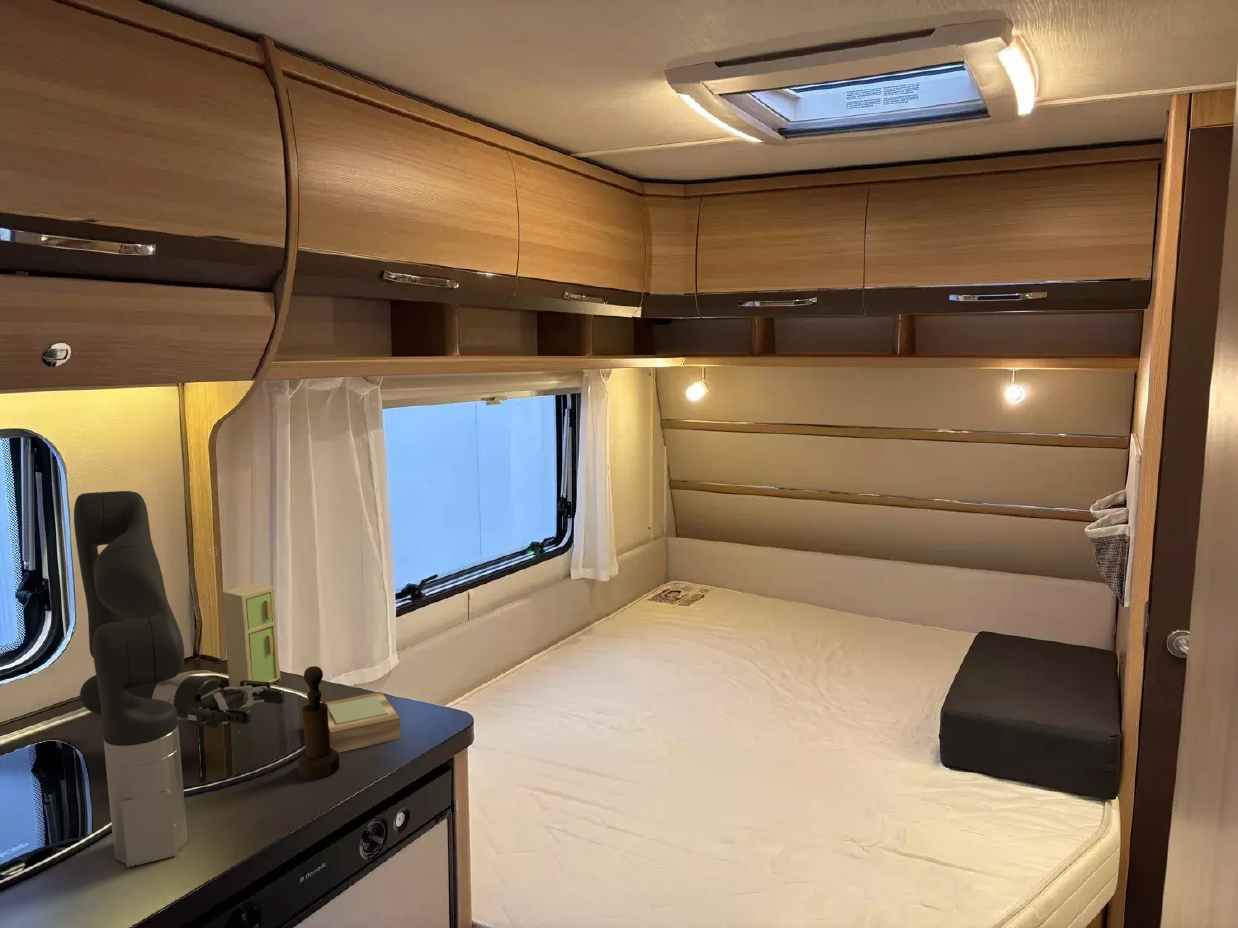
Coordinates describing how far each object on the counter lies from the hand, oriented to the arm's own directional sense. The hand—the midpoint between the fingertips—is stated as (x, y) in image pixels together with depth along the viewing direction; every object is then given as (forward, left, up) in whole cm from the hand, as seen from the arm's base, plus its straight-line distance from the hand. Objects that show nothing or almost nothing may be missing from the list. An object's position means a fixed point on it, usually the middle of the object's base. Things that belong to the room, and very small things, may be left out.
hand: (266, 706), depth 149 cm
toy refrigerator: (+39, -2, -10) cm, 41 cm away
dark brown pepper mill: (-7, -7, -10) cm, 14 cm away
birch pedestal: (+5, -16, -10) cm, 19 cm away
